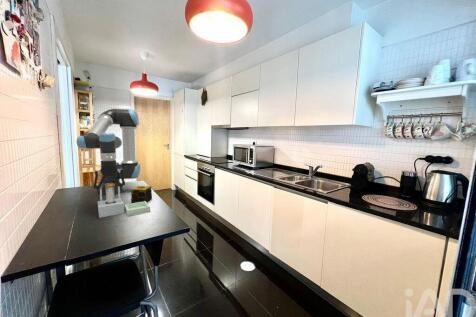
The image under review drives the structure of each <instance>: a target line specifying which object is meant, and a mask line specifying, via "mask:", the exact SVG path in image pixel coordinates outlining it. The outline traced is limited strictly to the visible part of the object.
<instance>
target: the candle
mask: <svg viewBox="0 0 476 317" xmlns="http://www.w3.org/2000/svg"><path fill="white" fill-rule="evenodd" d="M130 192H131V194H130V196H131V198H130V202H131V203H137V202H144V201H146V202H147V204H148V203H149V202H151V201H152V199H153V193H152V192H153V191H152V185H137V186H135V187H132V188H131V189H130ZM131 203H130V204H131Z"/></svg>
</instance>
